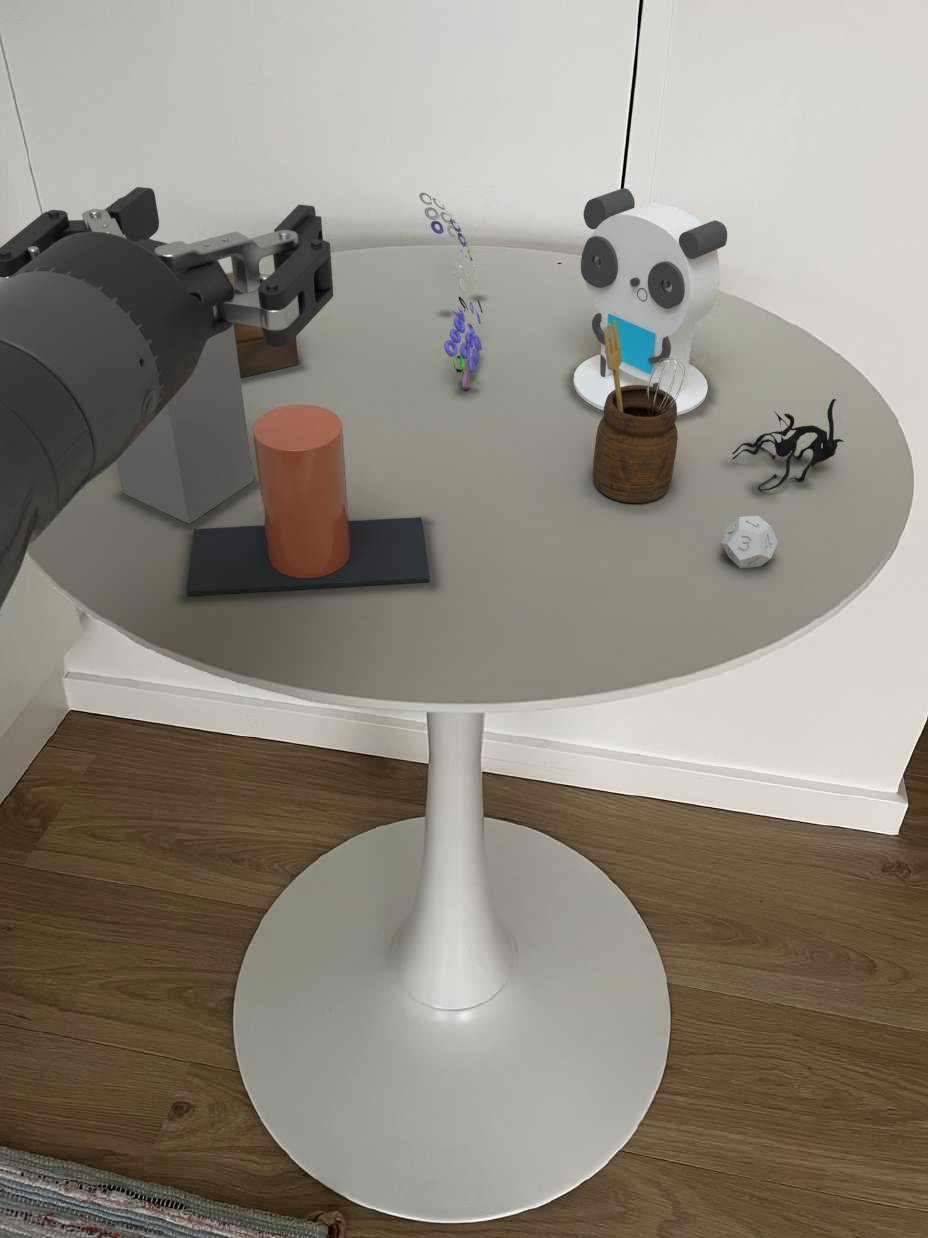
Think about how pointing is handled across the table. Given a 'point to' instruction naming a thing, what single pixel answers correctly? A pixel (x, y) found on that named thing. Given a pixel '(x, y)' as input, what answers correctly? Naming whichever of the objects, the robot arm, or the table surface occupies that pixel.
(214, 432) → the perfume bottle
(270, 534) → the canister
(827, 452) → the creature
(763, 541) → the game die
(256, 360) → the block stack
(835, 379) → the table surface
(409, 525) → the mat
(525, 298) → the table surface
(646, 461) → the utensil holder
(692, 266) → the panda figurine
